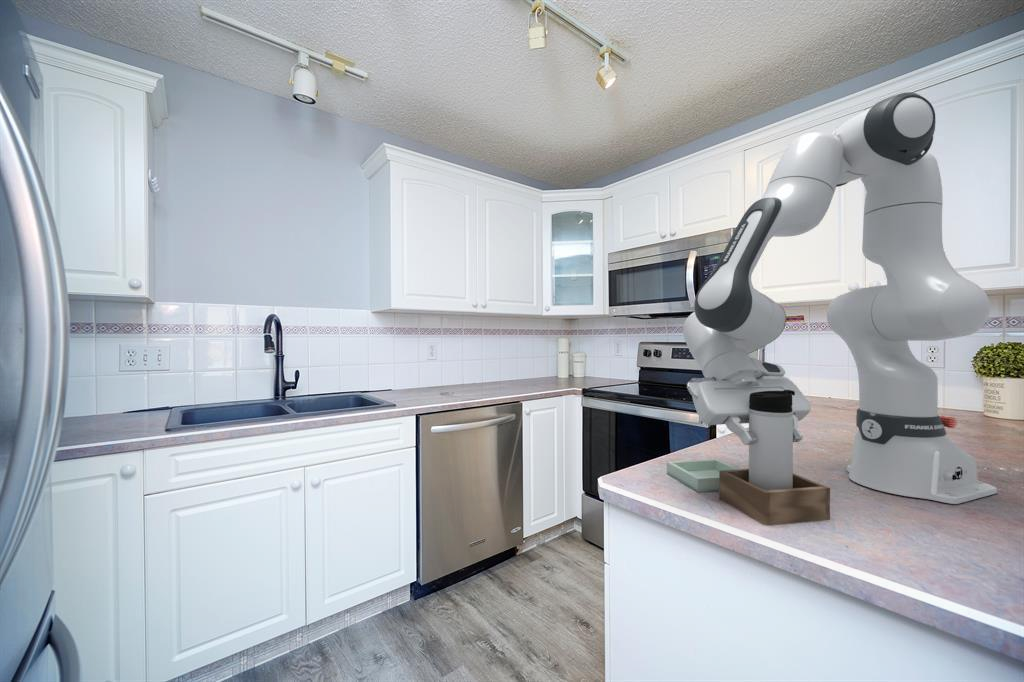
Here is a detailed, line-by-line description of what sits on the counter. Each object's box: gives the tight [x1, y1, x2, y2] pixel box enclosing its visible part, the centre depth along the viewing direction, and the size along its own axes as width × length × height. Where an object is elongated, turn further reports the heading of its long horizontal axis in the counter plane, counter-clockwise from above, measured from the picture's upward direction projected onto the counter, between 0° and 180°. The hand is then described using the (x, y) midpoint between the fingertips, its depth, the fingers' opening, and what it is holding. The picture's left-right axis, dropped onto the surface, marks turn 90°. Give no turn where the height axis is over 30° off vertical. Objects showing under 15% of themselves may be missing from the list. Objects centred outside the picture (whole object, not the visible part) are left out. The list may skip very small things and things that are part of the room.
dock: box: [666, 458, 740, 493], centre depth 83 cm, size 12×11×2 cm
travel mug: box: [748, 390, 795, 491], centre depth 69 cm, size 6×7×20 cm
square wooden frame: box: [718, 468, 831, 526], centre depth 69 cm, size 12×11×5 cm
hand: (774, 441), depth 69 cm, fingers open, 7 cm apart
